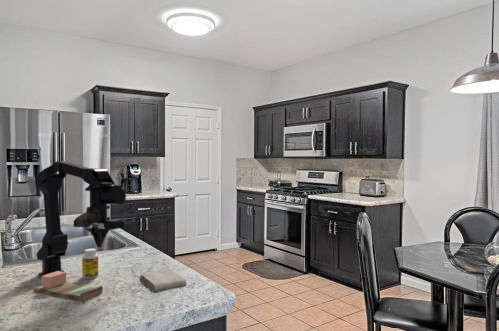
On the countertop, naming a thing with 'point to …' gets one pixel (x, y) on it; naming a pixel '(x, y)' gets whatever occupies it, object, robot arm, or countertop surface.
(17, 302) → the countertop surface
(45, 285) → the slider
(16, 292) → the countertop surface
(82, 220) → the robot arm
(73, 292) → the switch base
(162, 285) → the washcloth
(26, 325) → the countertop surface
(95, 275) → the supplement bottle
